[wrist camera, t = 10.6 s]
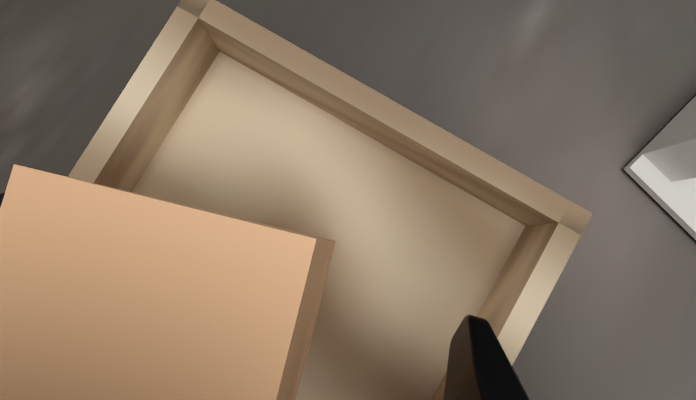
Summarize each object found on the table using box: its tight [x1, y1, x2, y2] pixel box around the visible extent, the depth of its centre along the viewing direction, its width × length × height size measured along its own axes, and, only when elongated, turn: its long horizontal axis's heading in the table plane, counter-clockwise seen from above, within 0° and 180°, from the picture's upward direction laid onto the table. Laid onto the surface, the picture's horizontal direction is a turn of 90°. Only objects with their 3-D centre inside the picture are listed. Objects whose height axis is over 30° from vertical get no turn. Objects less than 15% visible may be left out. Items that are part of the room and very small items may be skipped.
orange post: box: [0, 164, 335, 400], centre depth 11 cm, size 4×3×13 cm, turn 166°
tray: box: [68, 0, 592, 400], centre depth 16 cm, size 15×15×3 cm
